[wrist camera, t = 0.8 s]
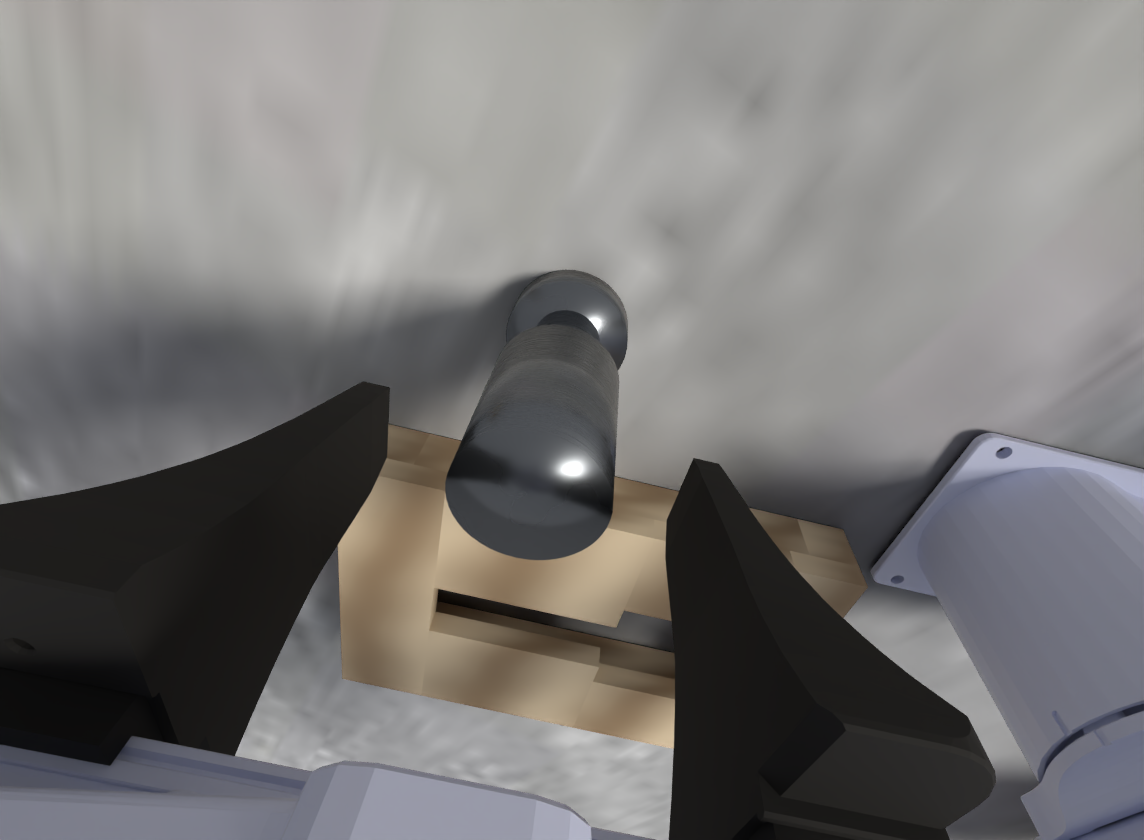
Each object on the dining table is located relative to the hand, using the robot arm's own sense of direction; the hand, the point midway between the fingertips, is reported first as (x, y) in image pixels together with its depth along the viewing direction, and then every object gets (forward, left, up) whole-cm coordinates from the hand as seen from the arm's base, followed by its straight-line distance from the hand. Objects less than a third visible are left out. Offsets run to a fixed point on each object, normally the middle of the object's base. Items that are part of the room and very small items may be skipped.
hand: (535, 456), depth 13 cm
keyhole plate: (-3, +13, -8) cm, 15 cm away
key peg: (0, 0, -8) cm, 8 cm away
